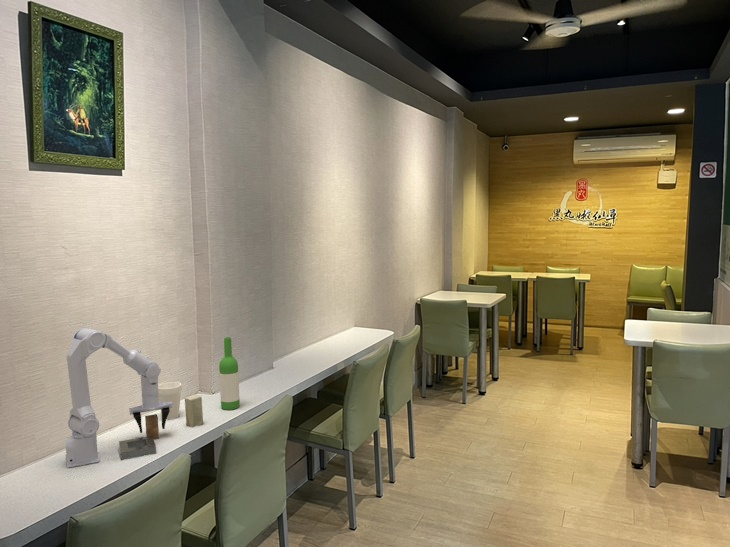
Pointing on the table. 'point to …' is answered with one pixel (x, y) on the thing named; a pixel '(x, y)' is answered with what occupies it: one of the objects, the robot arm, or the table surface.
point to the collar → (137, 447)
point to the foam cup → (171, 397)
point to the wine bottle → (229, 378)
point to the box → (193, 410)
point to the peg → (152, 426)
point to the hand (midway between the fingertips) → (152, 429)
